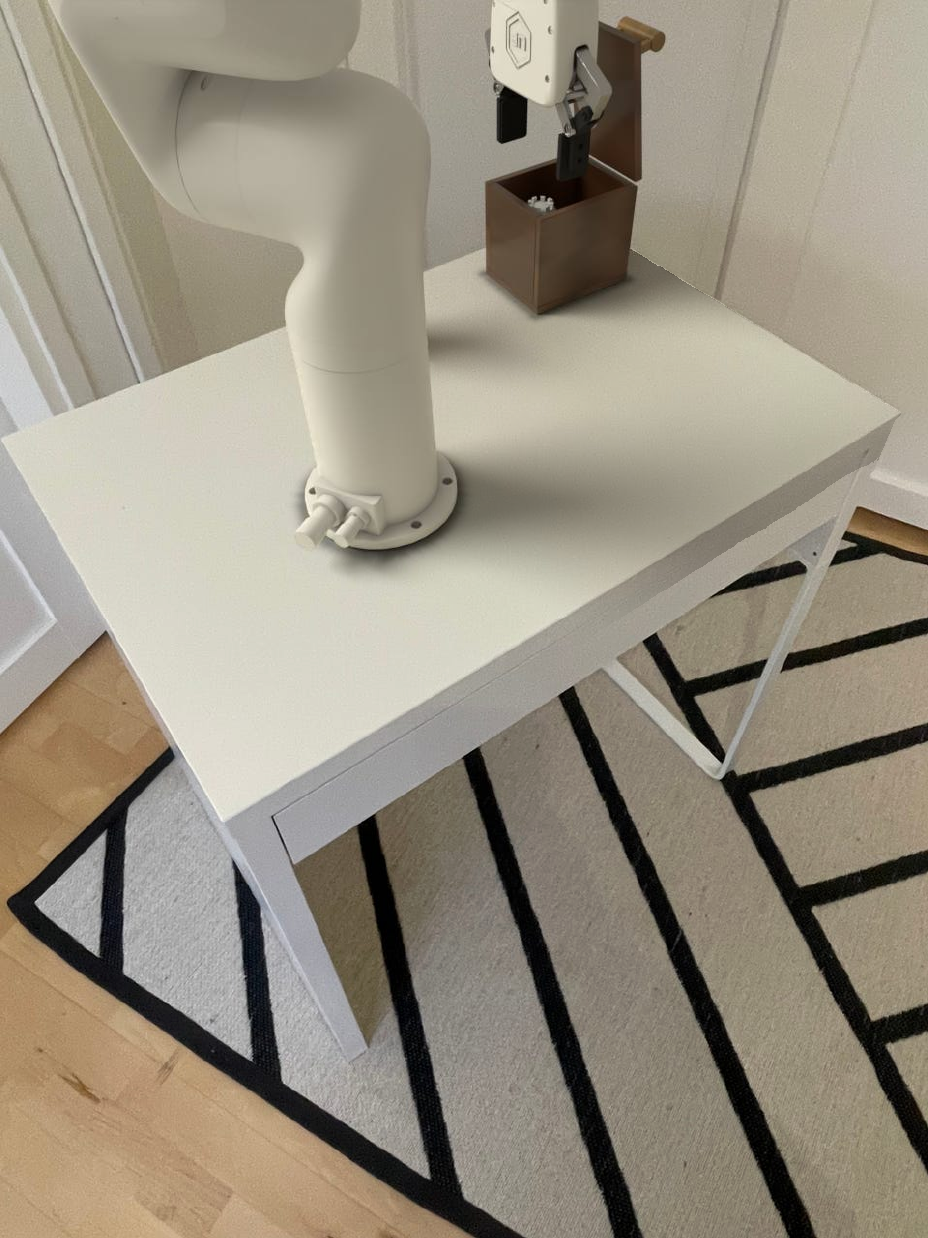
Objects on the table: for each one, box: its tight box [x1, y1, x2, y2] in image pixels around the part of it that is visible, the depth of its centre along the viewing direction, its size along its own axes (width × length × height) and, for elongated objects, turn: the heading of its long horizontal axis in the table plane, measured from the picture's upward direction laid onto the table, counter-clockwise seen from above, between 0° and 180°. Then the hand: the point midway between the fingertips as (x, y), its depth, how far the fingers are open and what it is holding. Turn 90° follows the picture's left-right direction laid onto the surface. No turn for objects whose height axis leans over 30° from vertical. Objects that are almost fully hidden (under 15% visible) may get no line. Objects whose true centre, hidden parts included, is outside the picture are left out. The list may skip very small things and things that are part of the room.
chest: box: [484, 156, 639, 315], centre depth 88 cm, size 12×10×10 cm
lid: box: [573, 16, 667, 183], centre depth 81 cm, size 12×10×5 cm
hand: (540, 157), depth 81 cm, fingers open, 9 cm apart
